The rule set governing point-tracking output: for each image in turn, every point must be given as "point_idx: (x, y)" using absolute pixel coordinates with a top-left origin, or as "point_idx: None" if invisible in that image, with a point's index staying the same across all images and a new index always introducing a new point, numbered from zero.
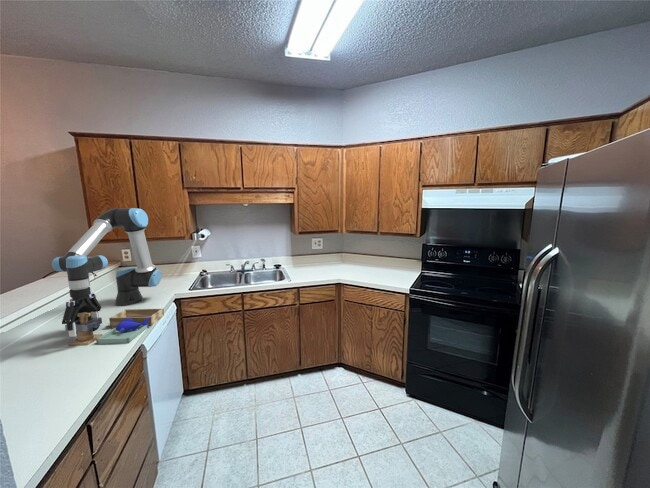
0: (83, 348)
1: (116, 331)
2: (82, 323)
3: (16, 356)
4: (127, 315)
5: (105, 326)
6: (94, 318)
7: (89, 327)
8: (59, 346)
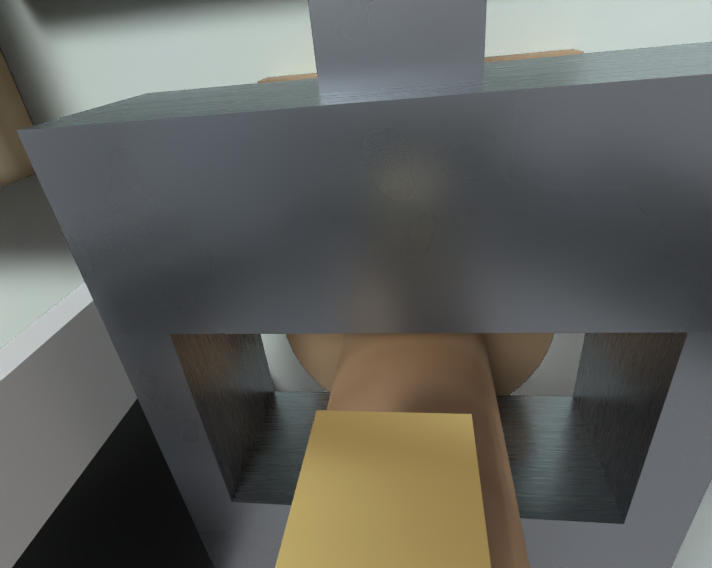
0: (708, 17)
1: None
2: (493, 393)
3: (694, 546)
4: None
5: (32, 284)
6: (173, 304)
7: (664, 53)
8: (549, 382)
